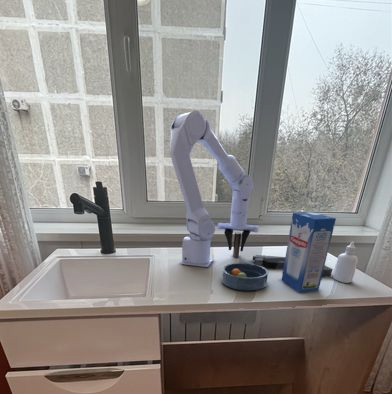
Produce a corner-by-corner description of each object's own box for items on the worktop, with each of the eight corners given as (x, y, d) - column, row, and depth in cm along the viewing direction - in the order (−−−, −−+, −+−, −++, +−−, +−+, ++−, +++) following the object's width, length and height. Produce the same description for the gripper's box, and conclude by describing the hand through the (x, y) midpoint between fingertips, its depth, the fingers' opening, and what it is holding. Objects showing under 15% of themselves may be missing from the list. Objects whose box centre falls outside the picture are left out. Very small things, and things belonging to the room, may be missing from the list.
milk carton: (281, 280, 89) (292, 212, 79) (298, 278, 90) (312, 212, 81) (299, 292, 81) (315, 219, 71) (318, 290, 82) (336, 218, 72)
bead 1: (237, 281, 87) (229, 278, 89) (243, 275, 88) (234, 271, 90) (236, 275, 85) (228, 271, 86) (242, 268, 86) (234, 265, 87)
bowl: (217, 288, 82) (218, 274, 80) (226, 273, 93) (227, 261, 91) (264, 294, 79) (266, 280, 77) (267, 278, 90) (269, 265, 88)
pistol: (334, 272, 89) (325, 258, 102) (252, 265, 93) (253, 253, 106) (333, 279, 90) (324, 264, 103) (251, 272, 94) (252, 258, 107)
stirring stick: (231, 256, 110) (233, 233, 105) (234, 254, 111) (236, 231, 106) (237, 257, 109) (240, 234, 104) (239, 255, 110) (242, 232, 105)
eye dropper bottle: (344, 277, 92) (354, 239, 87) (353, 283, 88) (365, 244, 82) (330, 276, 92) (340, 239, 86) (339, 283, 87) (350, 244, 82)
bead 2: (239, 271, 86) (246, 278, 86) (233, 277, 85) (239, 285, 86) (244, 269, 83) (250, 277, 83) (237, 276, 82) (243, 284, 83)
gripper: (261, 211, 102) (256, 249, 109) (221, 209, 106) (219, 245, 112) (259, 214, 96) (254, 254, 103) (217, 211, 100) (215, 250, 107)
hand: (235, 250), depth 107 cm, fingers open, 4 cm apart
